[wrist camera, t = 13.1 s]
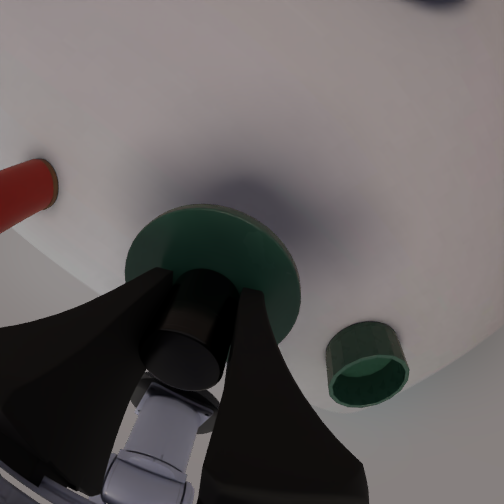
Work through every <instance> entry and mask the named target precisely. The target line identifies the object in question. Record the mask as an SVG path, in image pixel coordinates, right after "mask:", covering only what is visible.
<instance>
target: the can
mask: <svg viewBox="0 0 504 504" xmlns="http://www.w3.org/2000/svg"><path fill="white" fill-rule="evenodd" d="M53 190H54V188H53V179H52V176H51V173H50V171H49V169H48V167H47V166H46V165H45V164H44V163H43V162H42V161H40V160H38V159H32V160H29V161H26V162H23V163H20V164H17V165H14V166H11V167H9V168H6V169H3V170H0V233H2V232H4V231H5V230H7V229H9V228H10V227H12V226H14V225H16V224H17V223H19V222H21V221H23V220H24V219H26V218H28V217H30V216H32V215H33V214H35V213H37V212H39V211H41V210H43V209H44V208H46V207H47V206H48V205H49V204H50V202H51V200H52V197H53Z"/></svg>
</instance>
